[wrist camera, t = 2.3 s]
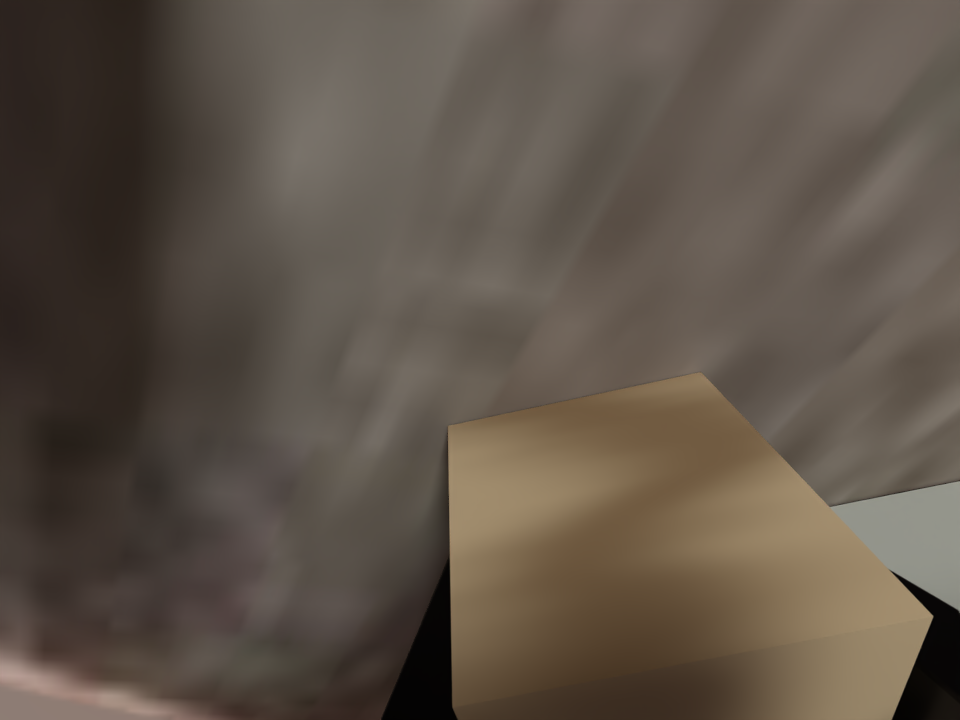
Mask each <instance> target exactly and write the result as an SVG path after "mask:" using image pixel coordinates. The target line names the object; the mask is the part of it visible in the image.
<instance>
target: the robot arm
mask: <svg viewBox="0 0 960 720" xmlns="http://www.w3.org/2000/svg"><path fill="white" fill-rule="evenodd" d="M889 570H890V569H889ZM890 571H891V570H890ZM891 572H892V573H893V574H894V575H895V577H896V578H897V579H898V580H899V581H900V582H901V583H902V584H903V585H904V586H905V587H906V588H907V589H908V590H909V591H910V592H911V593H912V594H913V595H914V596H915V598H916V599H917V600H918V601H919V602H920V603H921V604H922V605H923V606H924V607H925V608H926V609H927V610H928V611H929V612H930V613H931V614H932V615H933V619H932V621H931V624H930V626H929V629H928V631H927V634H926V636H925V639H924V641H923V644H922V646H921V648H920V651H919V653H918V656H917V658H916V661H915V663H914V666H913V668H912V671H911V673H910V676H909V678H908V681H907V683H906V686H905V688H904V690H903V693H902V695H901V698H900V700H899V703H898V705H897V708H896V710H895V713H894V715H893V718H892V720H960V612H959V610H958V609H956V608H954V607H953V606H951V605H949V604H947V603H946V602H944V601H942V600H941V599H939V598H937V597H936V596H934V595H932V594H930V593H929V592H927V591H925V590H924V589H922V588H920V587H919V586H917V585H915V584H913V583H912V582H910V581H908V580H907V579H905V578H903V577H902V576H900V575H898V574H896V573H895V572H893V571H891ZM381 720H458V719H457V717H456V714H455V712H454V710H453V708H452V650H451V588H450V555H449V558H448V560H447V563H446V565H445V567H444V570H443V572H442V575H441V577H440V579H439V582H438V584H437V587H436V589H435V591H434V594H433V596H432V599H431V601H430V603H429V606H428V608H427V610H426V613H425V615H424V618H423V620H422V622H421V625H420V627H419V630H418V632H417V634H416V637H415V639H414V642H413V644H412V646H411V649H410V651H409V653H408V656H407V658H406V661H405V663H404V665H403V668H402V670H401V673H400V675H399V677H398V680H397V682H396V685H395V687H394V689H393V692H392V694H391V697H390V699H389V701H388V704H387V706H386V708H385V711H384V713H383V716H382V718H381Z"/></svg>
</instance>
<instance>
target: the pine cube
mask: <svg viewBox="0 0 960 720" xmlns="http://www.w3.org/2000/svg"><path fill="white" fill-rule="evenodd" d="M448 462H449V525H450V588H451V650H452V708H453V710H454V712H455V714H456V717H457V719H458V720H892V718H893V715H894V713H895V710H896V708H897V705H898V703H899V700H900V698H901V695H902V693H903V690H904V688H905V686H906V683H907V681H908V678H909V676H910V673H911V671H912V668H913V666H914V663H915V661H916V658H917V656H918V653H919V651H920V648H921V646H922V644H923V641H924V639H925V636H926V634H927V631H928V629H929V626H930V624H931V621H932V619H933V615H932V614H931V613H930V612H929V611H928V610H927V609H926V608H925V607H924V606H923V605H922V604H921V603H920V602H919V601H918V600H917V599H916V598H915V596H914V595H913V594H912V593H911V592H910V591H909V590H908V589H907V588H906V587H905V586H904V585H903V584H902V583H901V582H900V581H899V580H898V579H897V578H896V577H895V575H894V574H893V573H892V572H891V571H890V570H889V569H888V568H887V567H886V566H885V565H884V564H883V563H882V562H881V561H880V560H879V559H878V558H877V557H876V556H875V554H874V553H873V552H872V551H871V550H870V549H869V548H868V547H867V546H866V545H865V544H864V543H863V542H862V541H861V540H860V539H859V538H858V537H857V536H856V535H855V533H854V532H853V531H852V530H851V529H850V528H849V527H848V526H847V525H846V524H845V523H844V522H843V521H842V520H841V519H840V518H839V517H838V516H837V515H836V514H835V512H834V511H833V510H832V509H831V508H830V507H829V506H828V505H827V504H826V503H825V502H824V501H823V500H822V499H821V498H820V497H819V496H818V495H817V494H816V493H815V492H814V490H813V489H812V488H811V487H810V486H809V485H808V484H807V483H806V482H805V481H804V480H803V479H802V478H801V477H800V476H799V475H798V474H797V473H796V472H795V471H794V469H793V468H792V467H791V466H790V465H789V464H788V463H787V462H786V461H785V460H784V459H783V458H782V457H781V456H780V455H779V454H778V453H777V452H776V451H775V450H774V448H773V447H772V446H771V445H770V444H769V443H768V442H767V441H766V440H765V439H764V438H763V437H762V436H761V435H760V434H759V433H758V432H757V431H756V430H755V429H754V427H753V426H752V425H751V424H750V423H749V422H748V421H747V420H746V419H745V418H744V417H743V416H742V415H741V414H740V413H739V412H738V411H737V410H736V409H735V408H734V406H733V405H732V404H731V403H730V402H729V401H728V400H727V399H726V398H725V397H724V396H723V395H722V394H721V393H720V392H719V391H718V390H717V389H716V388H715V387H714V385H713V384H712V383H711V382H710V381H709V380H708V379H707V378H706V377H705V376H704V375H703V374H702V373H701V372H699V373H694V374H690V375H685V376H680V377H675V378H671V379H666V380H661V381H657V382H652V383H647V384H643V385H638V386H633V387H628V388H624V389H619V390H614V391H610V392H605V393H600V394H596V395H591V396H586V397H581V398H577V399H572V400H567V401H563V402H558V403H553V404H549V405H544V406H539V407H534V408H530V409H525V410H520V411H516V412H511V413H506V414H502V415H497V416H492V417H487V418H483V419H478V420H473V421H469V422H464V423H459V424H455V425H450V426H448Z"/></svg>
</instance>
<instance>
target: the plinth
mask: <svg viewBox="0 0 960 720" xmlns="http://www.w3.org/2000/svg"><path fill="white" fill-rule="evenodd" d="M830 508H831V509H832V510H833V511H834V512H835V514H836V515H837V516H838V517H839V518H840V519H841V520H842V521H843V522H844V523H845V524H846V525H847V526H848V527H849V528H850V529H851V530H852V531H853V532H854V533H855V535H856V536H857V537H858V538H859V539H860V540H861V541H862V542H863V543H864V544H865V545H866V546H867V547H868V548H869V549H870V550H871V551H872V552H873V553H874V554H875V556H876V557H877V558H878V559H879V560H880V561H881V562H882V563H883V564H884V565H885V566H886V567H887V568H888V569H890V570H891V571H893V572H895V573H896V574H898V575H900V576H902V577H903V578H905V579H907V580H908V581H910V582H912V583H913V584H915V585H917V586H919V587H920V588H922V589H924V590H925V591H927V592H929V593H930V594H932V595H934V596H936V597H937V598H939V599H941V600H942V601H944V602H946V603H947V604H949V605H951V606H953V607H954V608H956V609H958V610H959V612H960V481H958V482H953V483H948V484H943V485H938V486H933V487H928V488H923V489H918V490H913V491H908V492H903V493H898V494H893V495H888V496H883V497H878V498H873V499H868V500H863V501H858V502H853V503H848V504H843V505H838V506H833V507H830Z"/></svg>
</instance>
